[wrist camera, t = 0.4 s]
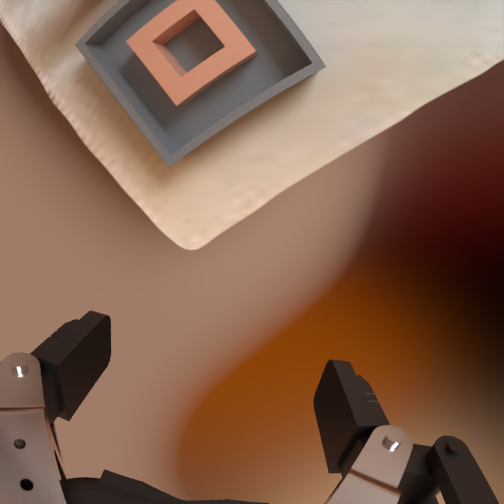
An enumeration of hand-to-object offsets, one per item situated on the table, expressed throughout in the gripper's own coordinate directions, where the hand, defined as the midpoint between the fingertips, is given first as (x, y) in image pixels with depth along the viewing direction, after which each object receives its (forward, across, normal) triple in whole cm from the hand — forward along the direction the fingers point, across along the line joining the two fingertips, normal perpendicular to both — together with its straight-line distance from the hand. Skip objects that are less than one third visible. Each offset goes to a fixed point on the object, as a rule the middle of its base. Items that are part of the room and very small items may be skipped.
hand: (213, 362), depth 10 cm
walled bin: (+25, +9, -21) cm, 34 cm away
